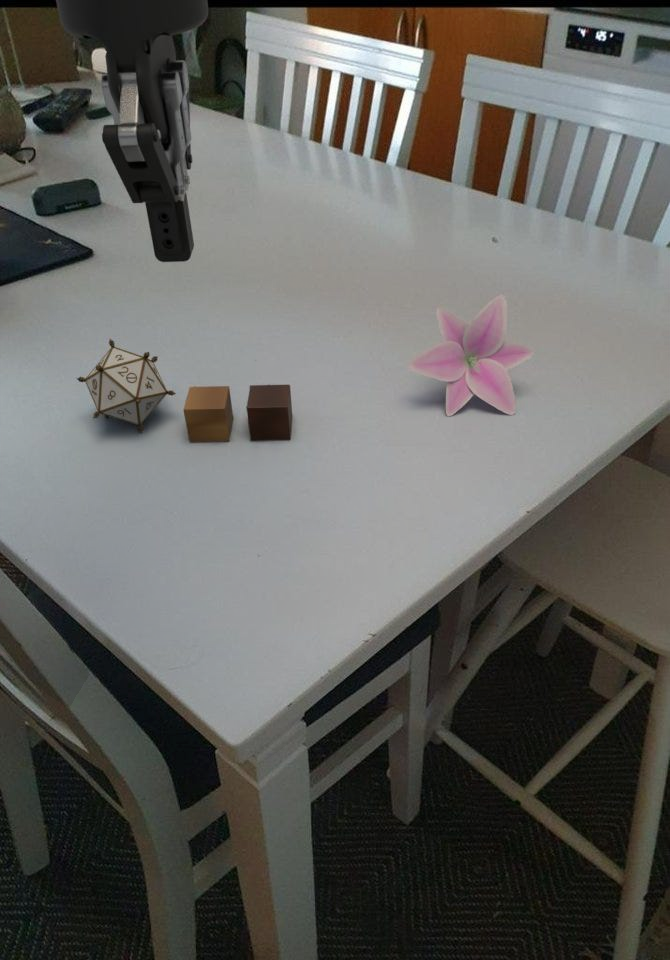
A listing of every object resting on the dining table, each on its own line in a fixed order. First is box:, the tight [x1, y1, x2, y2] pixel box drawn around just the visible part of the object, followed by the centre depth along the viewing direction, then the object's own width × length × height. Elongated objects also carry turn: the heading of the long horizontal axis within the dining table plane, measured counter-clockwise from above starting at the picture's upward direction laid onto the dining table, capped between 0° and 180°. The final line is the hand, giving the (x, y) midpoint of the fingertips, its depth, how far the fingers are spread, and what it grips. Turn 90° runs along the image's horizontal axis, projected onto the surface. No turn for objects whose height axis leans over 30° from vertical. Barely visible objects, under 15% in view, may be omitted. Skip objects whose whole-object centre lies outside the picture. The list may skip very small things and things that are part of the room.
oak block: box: [182, 385, 234, 443], centre depth 81 cm, size 4×4×4 cm
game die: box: [76, 338, 177, 434], centre depth 81 cm, size 9×8×10 cm
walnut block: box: [246, 384, 294, 442], centre depth 81 cm, size 4×4×4 cm
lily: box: [406, 294, 535, 417], centre depth 83 cm, size 12×12×10 cm
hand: (175, 256), depth 50 cm, fingers closed
